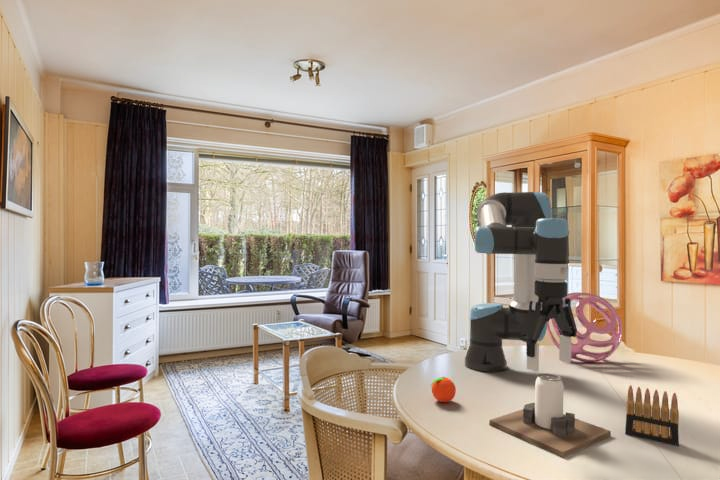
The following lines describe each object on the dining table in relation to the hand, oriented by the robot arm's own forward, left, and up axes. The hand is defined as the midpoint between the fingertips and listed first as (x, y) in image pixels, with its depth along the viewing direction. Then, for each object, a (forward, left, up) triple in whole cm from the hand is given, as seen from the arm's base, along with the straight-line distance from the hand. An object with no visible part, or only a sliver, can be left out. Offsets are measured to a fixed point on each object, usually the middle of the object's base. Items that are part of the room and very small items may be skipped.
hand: (549, 365), depth 110 cm
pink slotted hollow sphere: (-32, +72, -16) cm, 81 cm away
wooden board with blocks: (0, 0, -16) cm, 16 cm away
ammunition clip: (+16, +17, -16) cm, 28 cm away
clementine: (-28, -9, -16) cm, 33 cm away
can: (0, 0, -15) cm, 15 cm away
